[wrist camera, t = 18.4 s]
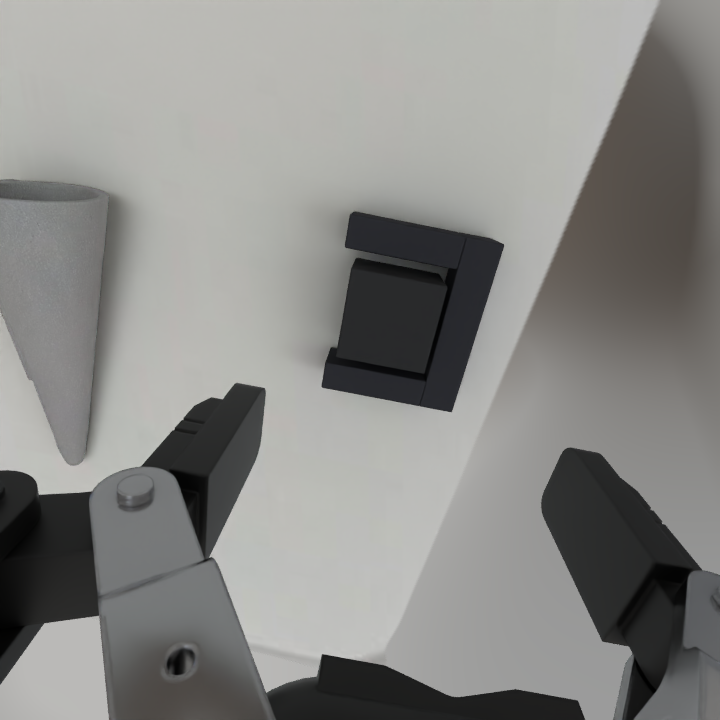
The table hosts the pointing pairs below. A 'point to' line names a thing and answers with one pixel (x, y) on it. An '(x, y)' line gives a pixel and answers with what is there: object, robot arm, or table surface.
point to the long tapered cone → (54, 295)
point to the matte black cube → (390, 315)
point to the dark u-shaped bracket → (456, 322)
